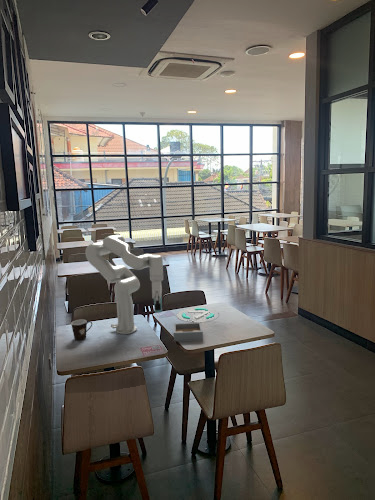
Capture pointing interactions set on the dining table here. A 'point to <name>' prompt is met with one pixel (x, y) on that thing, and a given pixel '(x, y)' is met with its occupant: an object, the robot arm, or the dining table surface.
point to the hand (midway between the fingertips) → (158, 308)
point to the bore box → (188, 332)
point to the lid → (183, 316)
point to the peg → (161, 305)
